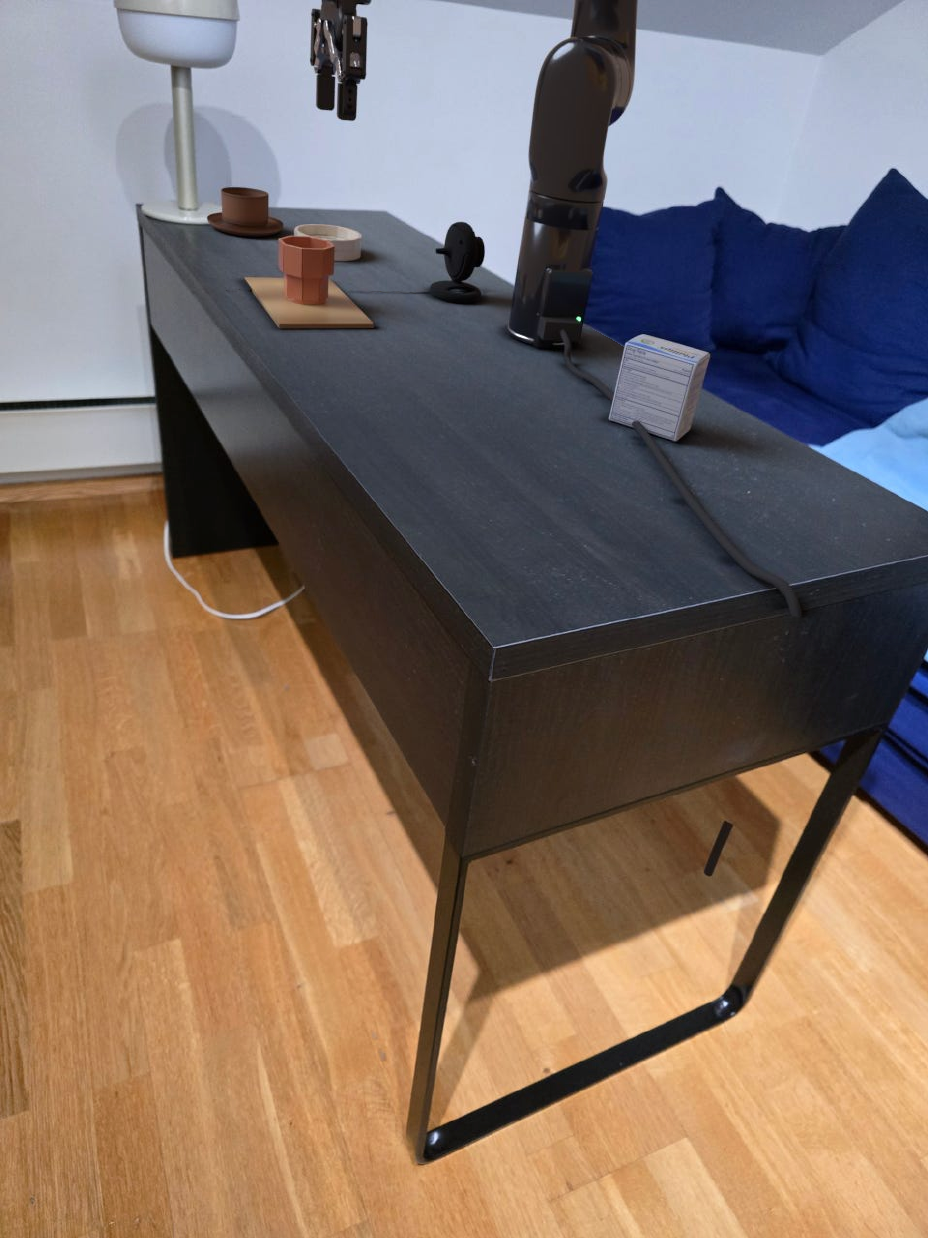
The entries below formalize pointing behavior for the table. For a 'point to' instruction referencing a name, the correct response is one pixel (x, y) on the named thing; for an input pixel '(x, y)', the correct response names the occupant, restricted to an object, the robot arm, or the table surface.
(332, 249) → the terracotta plant pot
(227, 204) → the cup and saucer
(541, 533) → the table surface
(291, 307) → the oak mat
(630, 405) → the medicine box
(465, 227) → the webcam
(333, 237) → the cream bowl
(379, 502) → the table surface
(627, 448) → the table surface
